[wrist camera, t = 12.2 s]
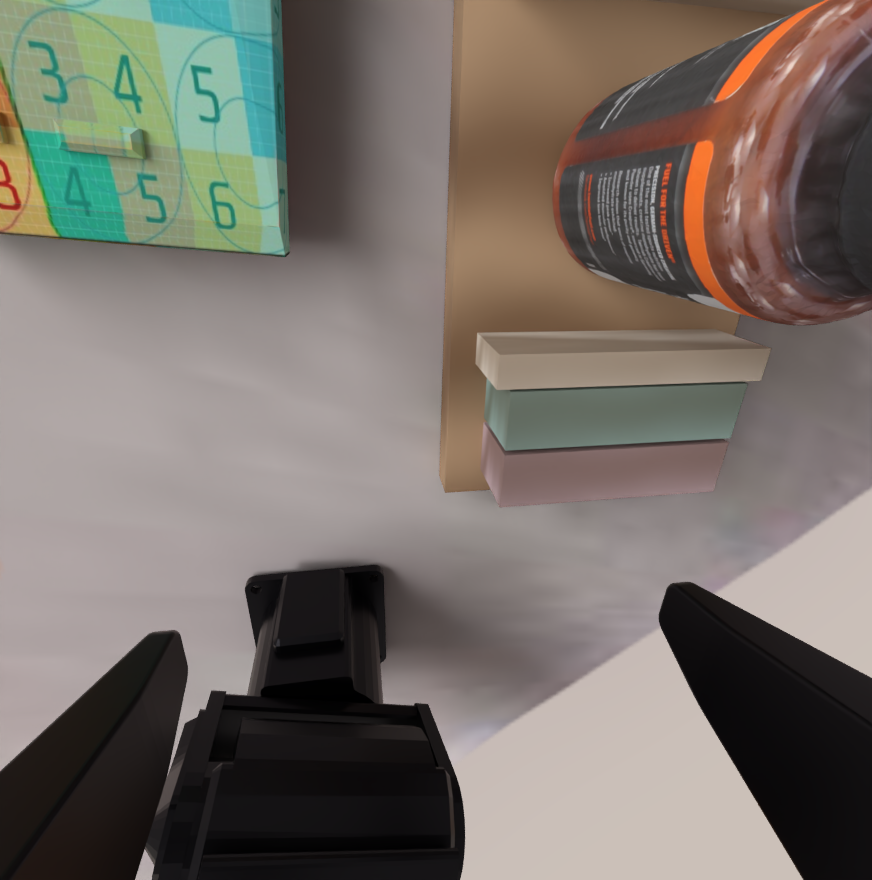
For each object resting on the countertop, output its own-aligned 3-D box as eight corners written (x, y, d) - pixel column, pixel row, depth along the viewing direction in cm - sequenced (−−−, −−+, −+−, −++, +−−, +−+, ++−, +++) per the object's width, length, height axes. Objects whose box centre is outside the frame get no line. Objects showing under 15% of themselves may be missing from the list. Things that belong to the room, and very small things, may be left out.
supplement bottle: (610, 311, 19) (916, 435, 9) (510, 192, 16) (774, 172, 6) (736, 185, 17) (1265, 161, 7) (648, 35, 15) (1258, -304, 5)
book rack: (674, 460, 24) (738, 511, 20) (439, 475, 22) (459, 534, 18) (873, -276, 14) (1086, -469, 10) (465, -364, 12) (524, -648, 8)
